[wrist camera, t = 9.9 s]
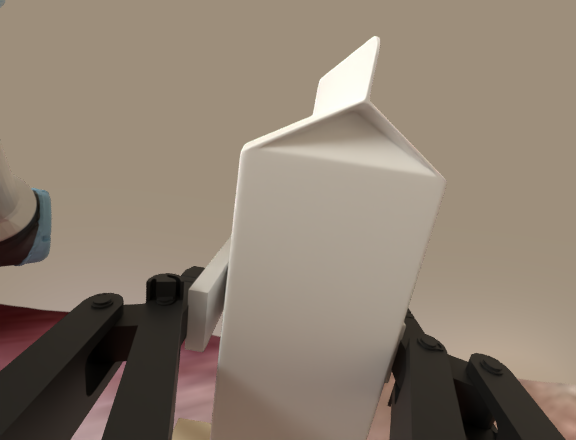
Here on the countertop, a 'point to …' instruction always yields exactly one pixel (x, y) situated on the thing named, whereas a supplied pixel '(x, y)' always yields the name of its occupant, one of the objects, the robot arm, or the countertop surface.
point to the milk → (321, 266)
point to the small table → (191, 430)
